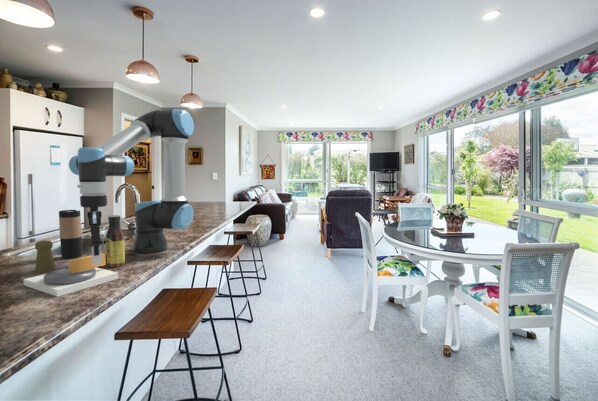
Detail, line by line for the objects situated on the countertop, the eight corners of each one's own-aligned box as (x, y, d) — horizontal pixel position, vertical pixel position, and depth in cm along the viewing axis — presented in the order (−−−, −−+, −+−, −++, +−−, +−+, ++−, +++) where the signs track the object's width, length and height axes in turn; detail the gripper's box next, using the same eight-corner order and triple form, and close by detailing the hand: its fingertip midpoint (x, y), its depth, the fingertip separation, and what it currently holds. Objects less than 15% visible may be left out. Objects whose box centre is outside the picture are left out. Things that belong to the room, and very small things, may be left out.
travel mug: (59, 259, 136) (56, 212, 134) (63, 255, 143) (61, 210, 141) (80, 258, 139) (78, 211, 137) (84, 253, 146) (82, 209, 144)
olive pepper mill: (44, 272, 119) (42, 243, 118) (30, 271, 120) (28, 242, 119) (59, 267, 125) (57, 239, 124) (46, 266, 126) (44, 238, 125)
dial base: (85, 269, 123) (84, 264, 122) (118, 278, 113) (118, 272, 113) (23, 285, 106) (23, 278, 106) (57, 296, 97) (56, 289, 96)
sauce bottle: (108, 264, 130) (106, 214, 128) (126, 262, 132) (124, 214, 131) (105, 268, 124) (103, 217, 122) (124, 267, 126) (122, 216, 125)
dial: (58, 287, 98) (57, 269, 97) (34, 279, 104) (33, 263, 104) (116, 271, 114) (115, 255, 113) (92, 265, 120) (91, 251, 120)
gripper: (80, 193, 112) (84, 261, 114) (78, 196, 101) (83, 271, 103) (106, 193, 116) (109, 258, 118) (107, 195, 105) (110, 267, 107)
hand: (97, 264), depth 110 cm, fingers closed
